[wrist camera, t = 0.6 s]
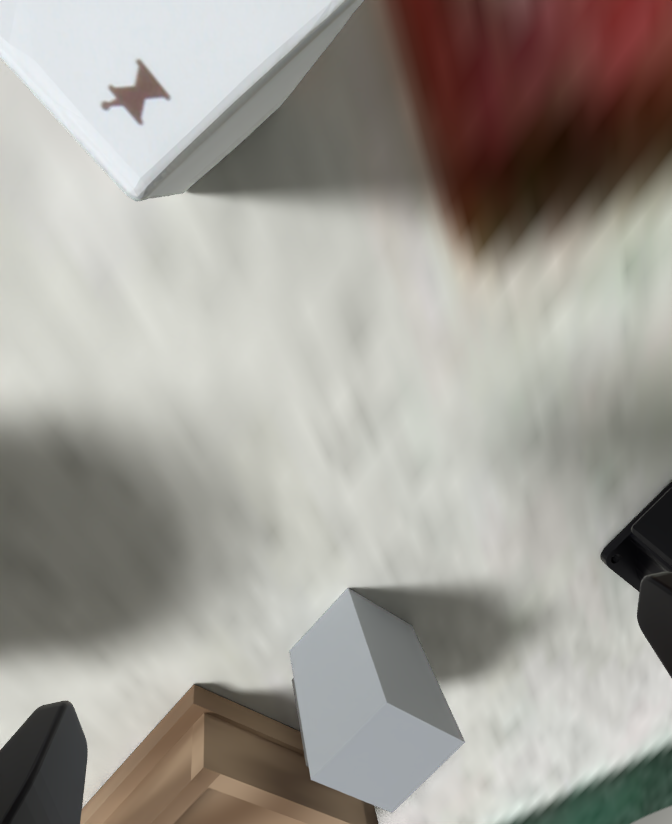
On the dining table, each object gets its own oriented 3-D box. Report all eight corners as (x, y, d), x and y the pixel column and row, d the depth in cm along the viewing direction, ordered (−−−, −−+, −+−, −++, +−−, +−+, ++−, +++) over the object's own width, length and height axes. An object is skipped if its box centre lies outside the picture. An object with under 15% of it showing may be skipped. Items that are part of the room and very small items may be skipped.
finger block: (412, 625, 26) (464, 742, 21) (348, 691, 27) (383, 821, 22) (347, 587, 25) (387, 702, 19) (282, 658, 25) (301, 788, 20)
